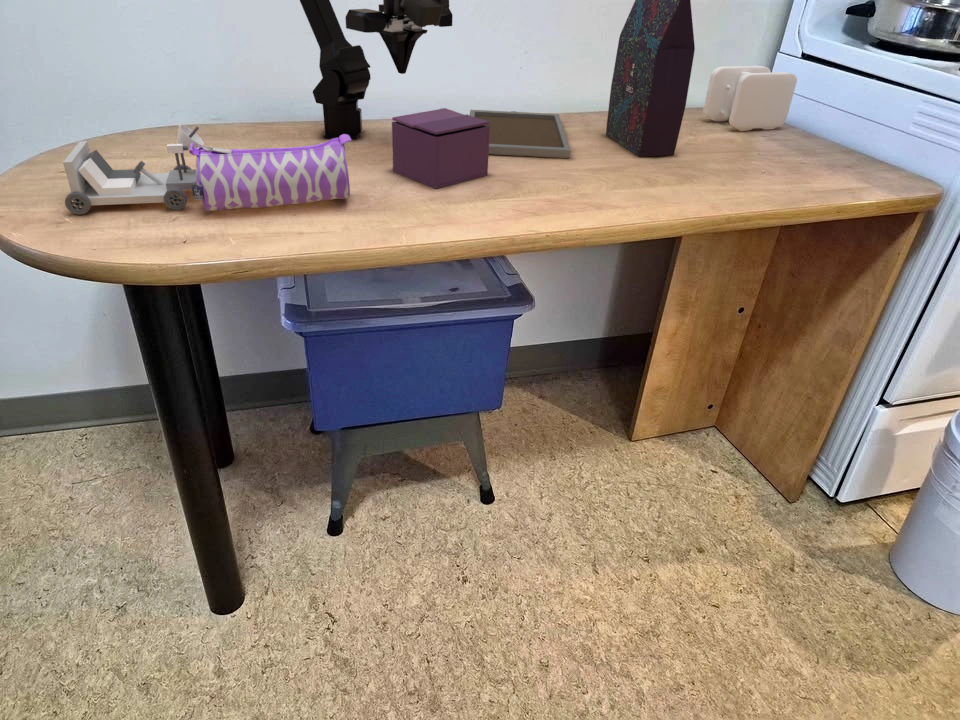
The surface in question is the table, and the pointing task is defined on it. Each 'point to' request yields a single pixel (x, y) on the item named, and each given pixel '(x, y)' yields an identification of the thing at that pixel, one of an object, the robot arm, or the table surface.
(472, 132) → the box
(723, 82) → the cable organizer
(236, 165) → the pencil case
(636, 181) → the table surface
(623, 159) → the table surface
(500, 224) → the table surface
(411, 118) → the flap
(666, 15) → the decorative box
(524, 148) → the grey rectangular tray
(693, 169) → the table surface
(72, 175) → the toy car
